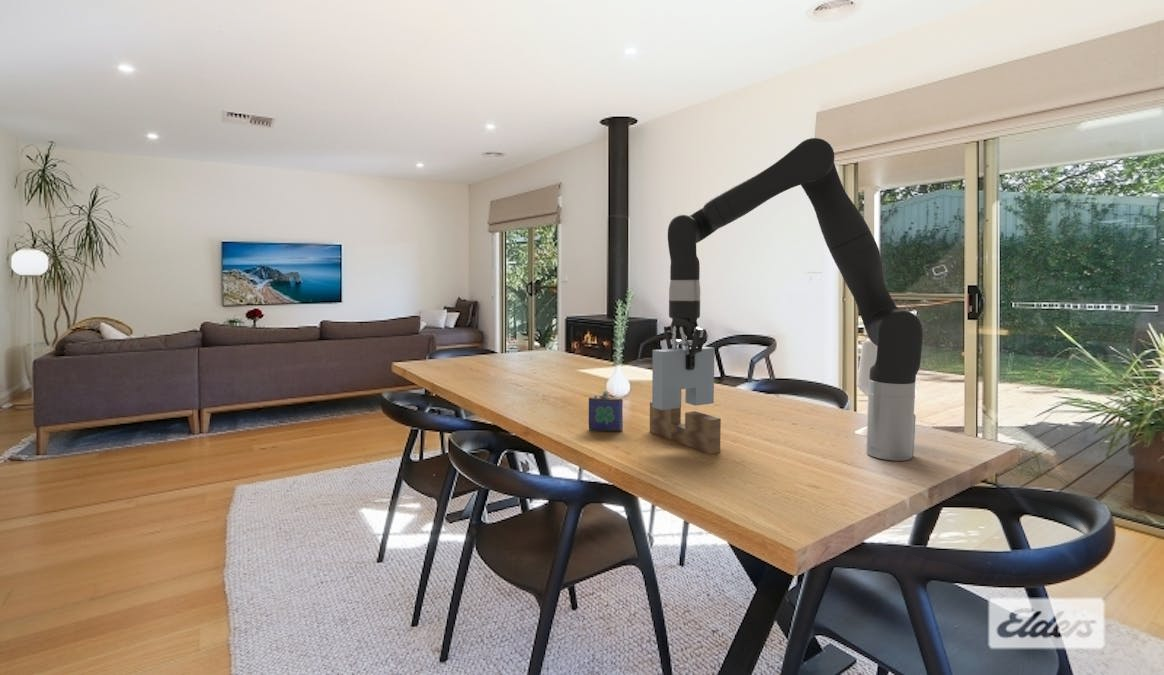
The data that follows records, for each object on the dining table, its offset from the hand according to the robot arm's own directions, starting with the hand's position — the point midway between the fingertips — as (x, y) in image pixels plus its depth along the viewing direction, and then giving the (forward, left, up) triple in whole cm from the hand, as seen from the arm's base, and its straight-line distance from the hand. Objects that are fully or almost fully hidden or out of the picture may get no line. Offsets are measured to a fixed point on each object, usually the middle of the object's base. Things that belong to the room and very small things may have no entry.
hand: (683, 368), depth 147 cm
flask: (+11, -19, -19) cm, 29 cm away
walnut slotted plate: (0, 0, -18) cm, 18 cm away
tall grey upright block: (0, 0, -9) cm, 9 cm away
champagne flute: (-47, +18, -19) cm, 54 cm away
